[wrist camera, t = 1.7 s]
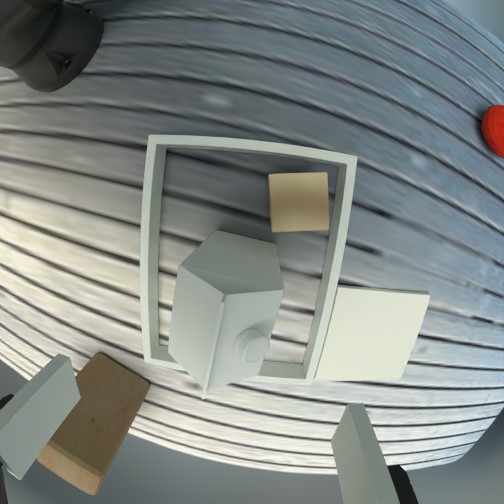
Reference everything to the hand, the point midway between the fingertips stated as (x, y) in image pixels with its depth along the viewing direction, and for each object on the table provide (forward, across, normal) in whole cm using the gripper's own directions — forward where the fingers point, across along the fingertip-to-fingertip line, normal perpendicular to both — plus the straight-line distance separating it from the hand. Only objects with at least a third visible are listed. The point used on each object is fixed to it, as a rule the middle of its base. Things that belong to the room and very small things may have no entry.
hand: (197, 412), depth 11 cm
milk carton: (+24, 0, 0) cm, 24 cm away
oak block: (+23, +5, +9) cm, 25 cm away
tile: (+24, +19, -8) cm, 31 cm away
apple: (+24, +34, +24) cm, 48 cm away
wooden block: (+24, -18, -23) cm, 37 cm away
